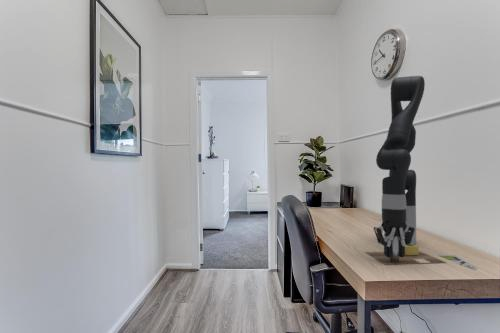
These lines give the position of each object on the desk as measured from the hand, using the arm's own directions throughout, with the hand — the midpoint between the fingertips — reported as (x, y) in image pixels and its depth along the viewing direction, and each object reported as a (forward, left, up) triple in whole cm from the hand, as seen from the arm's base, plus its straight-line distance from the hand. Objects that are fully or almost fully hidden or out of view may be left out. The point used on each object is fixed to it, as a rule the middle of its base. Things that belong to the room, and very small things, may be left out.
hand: (394, 256), depth 92 cm
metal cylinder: (0, 0, -2) cm, 2 cm away
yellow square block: (-8, +11, -2) cm, 13 cm away
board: (-4, +6, -3) cm, 8 cm away
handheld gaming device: (-3, +24, -4) cm, 24 cm away
